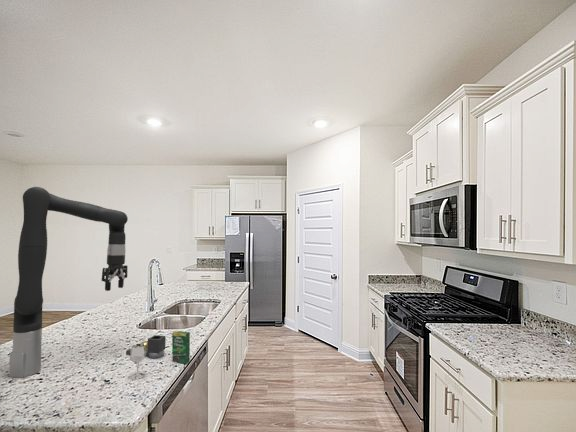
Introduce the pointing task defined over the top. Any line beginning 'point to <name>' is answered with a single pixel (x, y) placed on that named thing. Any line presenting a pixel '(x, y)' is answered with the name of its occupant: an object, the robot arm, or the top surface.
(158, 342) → the socket
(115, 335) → the top surface
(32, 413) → the top surface
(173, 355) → the coffee box
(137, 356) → the wineglass
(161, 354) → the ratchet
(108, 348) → the top surface
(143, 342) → the socket
